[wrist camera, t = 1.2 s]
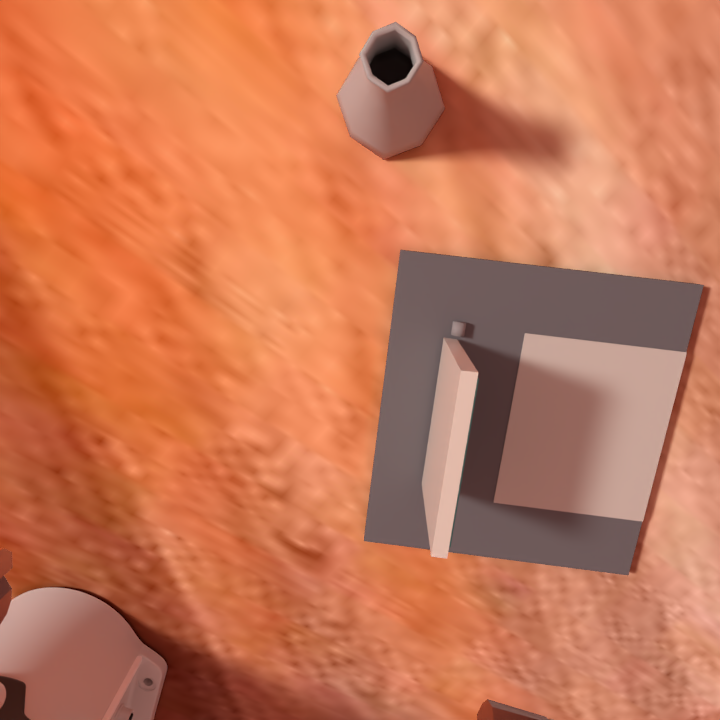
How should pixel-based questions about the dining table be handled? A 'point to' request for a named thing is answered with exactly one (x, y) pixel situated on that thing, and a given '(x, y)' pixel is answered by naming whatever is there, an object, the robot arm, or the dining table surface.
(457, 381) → the tile
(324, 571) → the dining table surface
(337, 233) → the dining table surface
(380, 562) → the dining table surface
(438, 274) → the board
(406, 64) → the flask
